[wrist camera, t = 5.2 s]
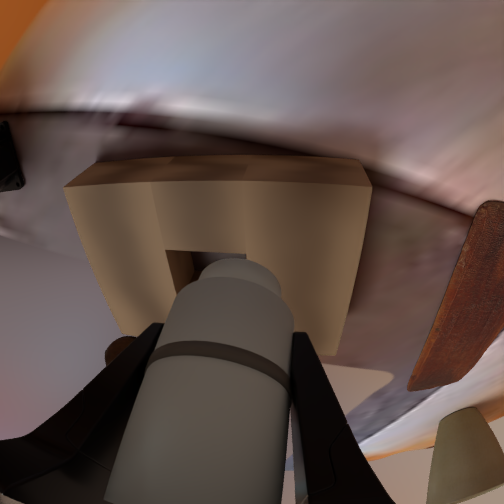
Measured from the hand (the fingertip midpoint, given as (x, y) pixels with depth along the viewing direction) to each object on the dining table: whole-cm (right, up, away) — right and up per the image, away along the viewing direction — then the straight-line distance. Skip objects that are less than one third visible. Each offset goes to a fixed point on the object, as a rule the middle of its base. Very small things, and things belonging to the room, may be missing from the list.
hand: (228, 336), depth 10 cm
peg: (0, +1, +2) cm, 2 cm away
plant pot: (+36, -25, +29) cm, 52 cm away
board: (-1, +3, +13) cm, 14 cm away
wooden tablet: (+23, -4, +16) cm, 28 cm away
